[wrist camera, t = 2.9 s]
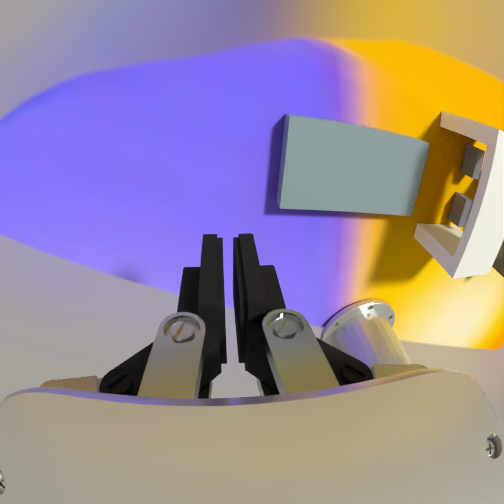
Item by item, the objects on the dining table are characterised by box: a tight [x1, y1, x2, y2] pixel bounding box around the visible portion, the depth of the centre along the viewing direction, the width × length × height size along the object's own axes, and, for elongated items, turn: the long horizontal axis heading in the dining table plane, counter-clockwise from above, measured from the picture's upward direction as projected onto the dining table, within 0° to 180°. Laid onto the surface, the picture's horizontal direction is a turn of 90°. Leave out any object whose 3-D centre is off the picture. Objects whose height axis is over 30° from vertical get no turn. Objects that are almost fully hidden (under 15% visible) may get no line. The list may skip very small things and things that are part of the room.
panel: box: [276, 114, 430, 216], centre depth 27 cm, size 9×16×2 cm, turn 86°
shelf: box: [413, 111, 504, 278], centre depth 25 cm, size 17×8×9 cm, turn 178°
